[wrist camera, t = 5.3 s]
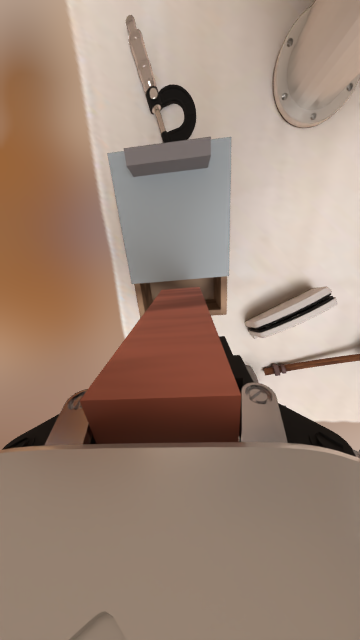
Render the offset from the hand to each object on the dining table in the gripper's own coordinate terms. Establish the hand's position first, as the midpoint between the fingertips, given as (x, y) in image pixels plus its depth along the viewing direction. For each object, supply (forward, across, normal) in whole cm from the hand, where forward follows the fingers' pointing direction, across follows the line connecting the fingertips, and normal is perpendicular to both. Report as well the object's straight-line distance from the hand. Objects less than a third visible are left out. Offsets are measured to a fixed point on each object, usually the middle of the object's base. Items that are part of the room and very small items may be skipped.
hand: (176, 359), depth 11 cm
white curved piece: (+29, -22, +8) cm, 37 cm away
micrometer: (+30, 0, -32) cm, 43 cm away
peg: (+12, 0, 0) cm, 12 cm away
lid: (+20, 0, -11) cm, 23 cm away
